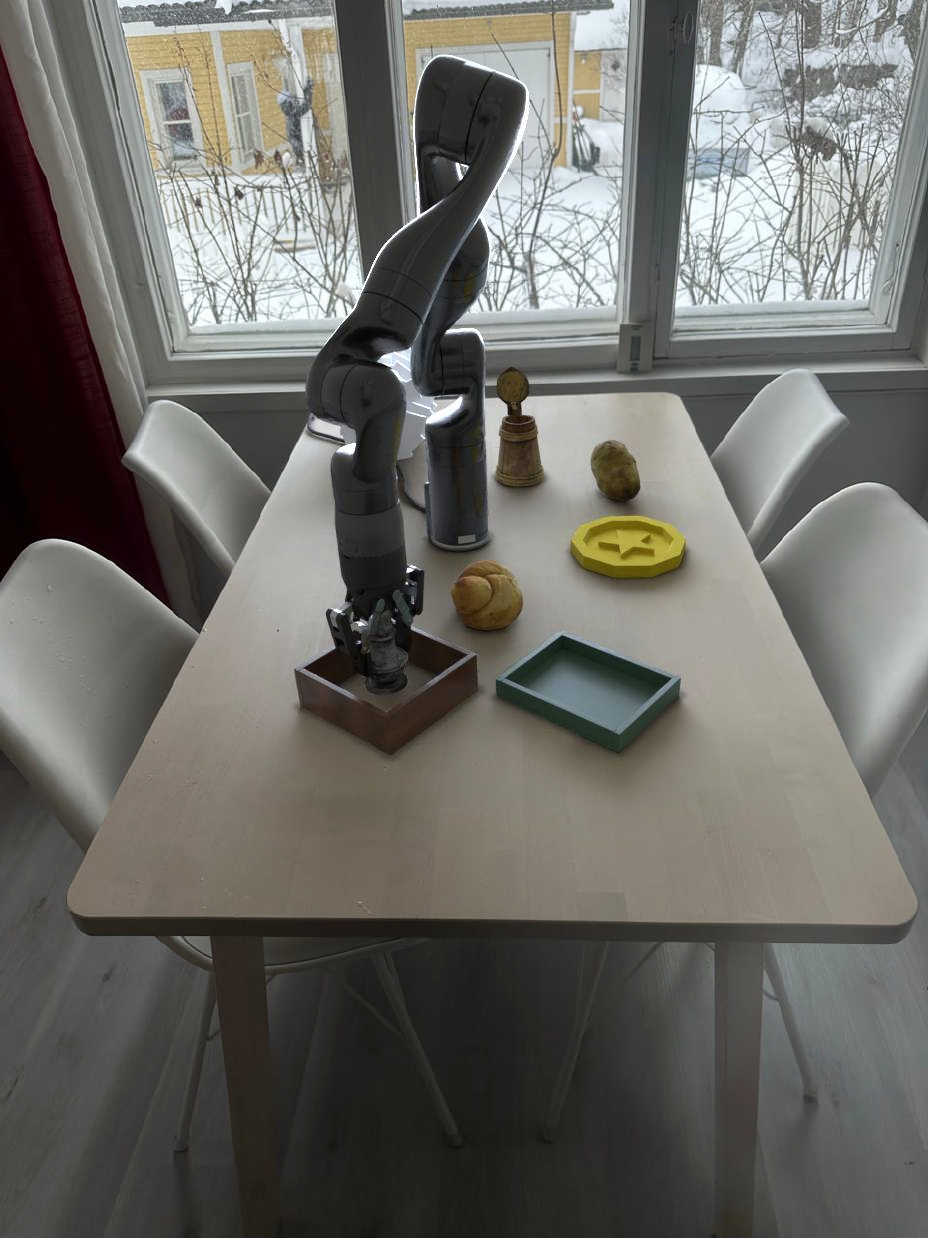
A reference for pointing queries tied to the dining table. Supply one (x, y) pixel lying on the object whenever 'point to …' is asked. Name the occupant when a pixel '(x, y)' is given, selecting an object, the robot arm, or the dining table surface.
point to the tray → (589, 689)
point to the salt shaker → (386, 660)
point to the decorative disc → (628, 546)
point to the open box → (406, 717)
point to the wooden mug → (517, 434)
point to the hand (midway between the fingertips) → (384, 661)
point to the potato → (615, 470)
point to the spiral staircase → (416, 407)
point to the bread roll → (487, 596)
